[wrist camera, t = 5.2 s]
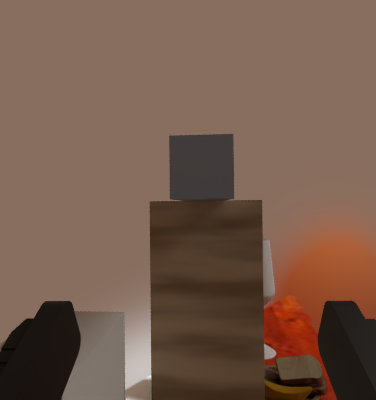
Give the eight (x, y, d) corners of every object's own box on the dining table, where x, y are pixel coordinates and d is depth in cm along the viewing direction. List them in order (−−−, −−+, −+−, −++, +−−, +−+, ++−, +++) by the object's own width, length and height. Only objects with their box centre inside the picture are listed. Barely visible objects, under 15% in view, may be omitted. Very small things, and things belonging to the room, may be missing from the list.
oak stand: (267, 569, 27) (261, 200, 28) (153, 561, 28) (149, 201, 29) (244, 424, 45) (241, 201, 46) (175, 422, 46) (173, 202, 46)
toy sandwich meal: (247, 367, 62) (247, 343, 62) (322, 377, 58) (321, 351, 58) (240, 408, 49) (239, 377, 50) (334, 423, 46) (333, 390, 46)
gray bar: (234, 198, 17) (233, 134, 17) (170, 199, 17) (169, 135, 17) (219, 202, 47) (218, 178, 47) (195, 202, 47) (195, 179, 47)
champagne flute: (239, 346, 70) (238, 238, 71) (268, 343, 71) (267, 237, 72) (249, 360, 64) (248, 241, 64) (281, 358, 65) (279, 240, 65)
